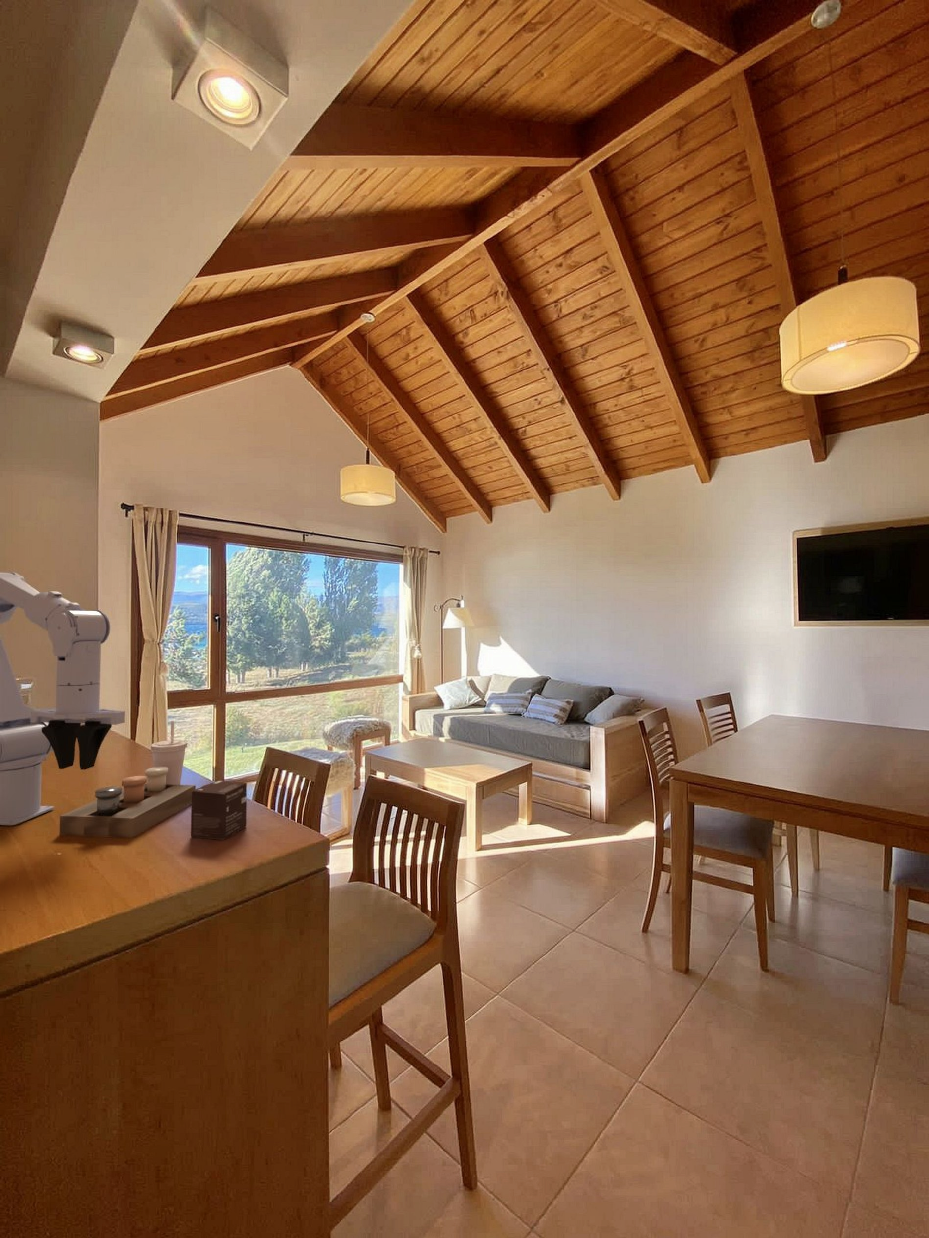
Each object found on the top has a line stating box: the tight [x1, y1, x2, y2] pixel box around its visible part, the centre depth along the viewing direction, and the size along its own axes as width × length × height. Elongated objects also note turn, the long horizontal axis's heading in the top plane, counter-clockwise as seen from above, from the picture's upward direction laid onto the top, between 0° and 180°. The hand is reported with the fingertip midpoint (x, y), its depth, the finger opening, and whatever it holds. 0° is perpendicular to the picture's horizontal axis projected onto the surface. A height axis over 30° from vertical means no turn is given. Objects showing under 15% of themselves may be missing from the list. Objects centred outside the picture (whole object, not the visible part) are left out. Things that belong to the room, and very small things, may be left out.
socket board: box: [59, 783, 197, 839], centre depth 90 cm, size 12×17×3 cm
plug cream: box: [144, 766, 168, 792], centre depth 96 cm, size 4×4×4 cm
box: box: [190, 780, 248, 841], centre depth 84 cm, size 6×6×7 cm
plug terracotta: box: [121, 775, 147, 803], centre depth 90 cm, size 4×4×4 cm
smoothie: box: [150, 720, 189, 785], centre depth 103 cm, size 6×6×14 cm
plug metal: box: [94, 785, 123, 816], centre depth 84 cm, size 4×4×4 cm
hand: (76, 767), depth 84 cm, fingers open, 3 cm apart
